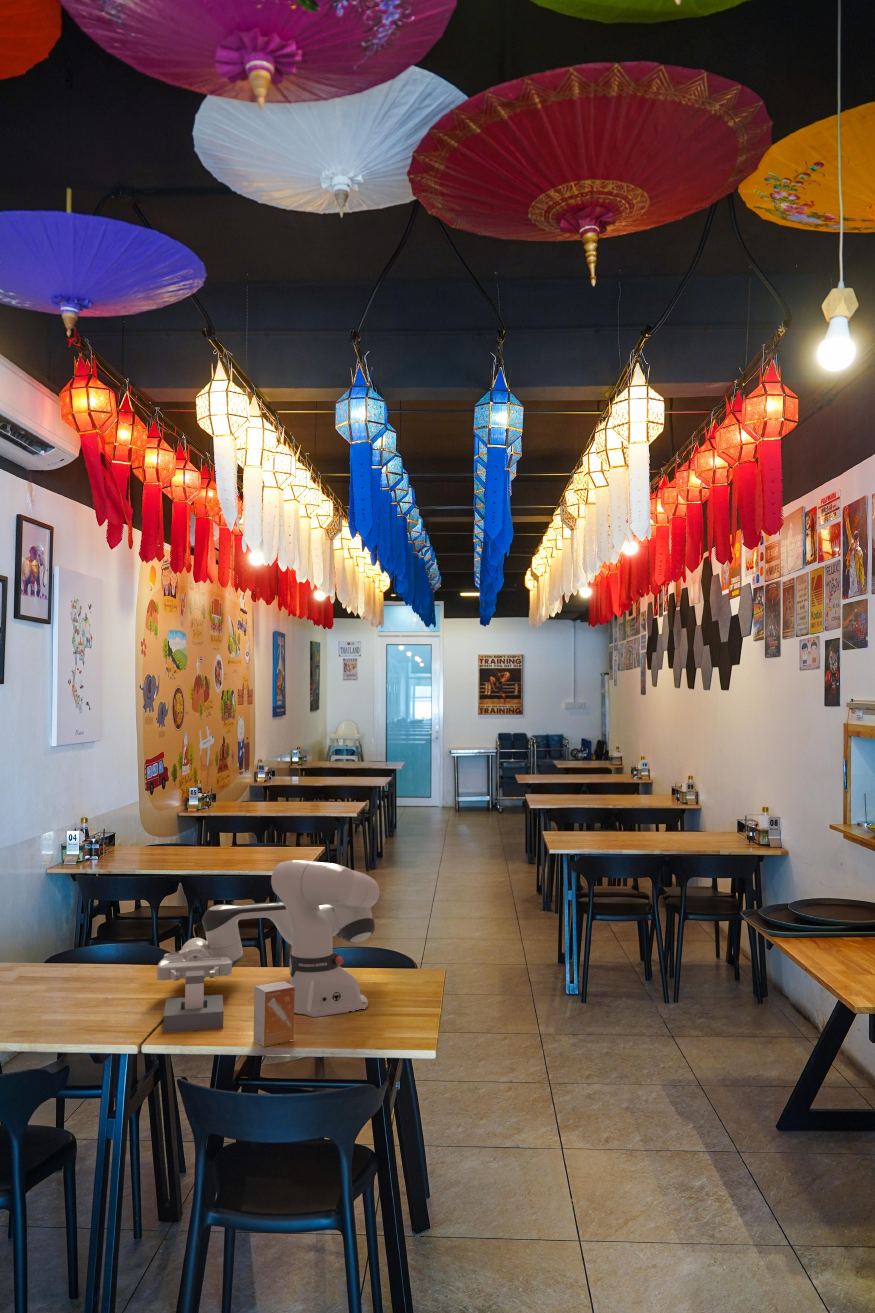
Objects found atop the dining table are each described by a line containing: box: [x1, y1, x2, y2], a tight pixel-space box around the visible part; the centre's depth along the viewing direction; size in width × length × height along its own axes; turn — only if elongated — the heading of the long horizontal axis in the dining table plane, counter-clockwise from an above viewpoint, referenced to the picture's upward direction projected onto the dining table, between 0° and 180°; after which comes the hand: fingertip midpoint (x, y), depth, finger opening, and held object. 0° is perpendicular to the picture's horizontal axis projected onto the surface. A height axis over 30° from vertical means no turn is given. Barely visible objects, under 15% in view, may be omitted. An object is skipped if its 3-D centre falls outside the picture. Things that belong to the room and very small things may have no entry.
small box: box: [252, 980, 295, 1048], centre depth 216 cm, size 8×6×13 cm
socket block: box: [162, 994, 225, 1033], centre depth 231 cm, size 15×15×4 cm
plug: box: [184, 971, 205, 1009], centre depth 231 cm, size 5×5×12 cm
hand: (194, 976), depth 242 cm, fingers open, 8 cm apart
